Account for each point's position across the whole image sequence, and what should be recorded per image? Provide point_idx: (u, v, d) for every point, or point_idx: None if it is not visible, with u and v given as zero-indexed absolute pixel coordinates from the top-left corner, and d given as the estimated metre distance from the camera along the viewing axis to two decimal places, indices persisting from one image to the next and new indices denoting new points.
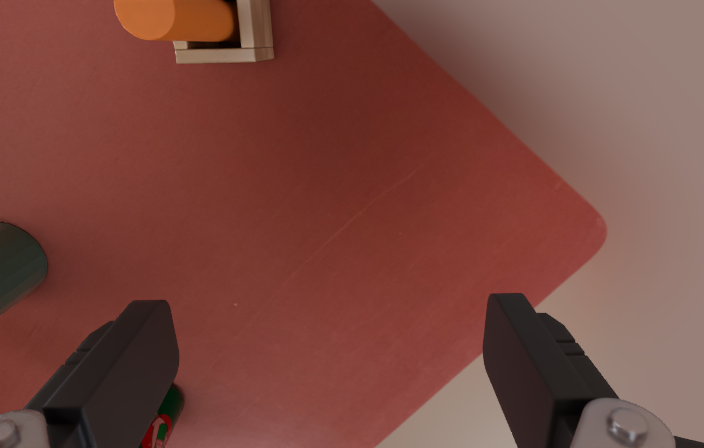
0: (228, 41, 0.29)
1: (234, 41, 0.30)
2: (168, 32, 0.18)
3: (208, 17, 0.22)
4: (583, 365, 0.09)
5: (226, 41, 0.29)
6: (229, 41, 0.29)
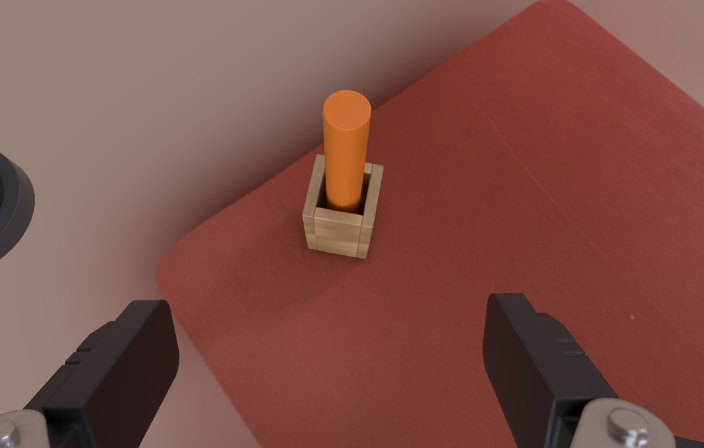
0: None
1: None
2: (367, 101, 0.22)
3: None
4: (583, 365, 0.09)
5: (359, 206, 0.33)
6: None
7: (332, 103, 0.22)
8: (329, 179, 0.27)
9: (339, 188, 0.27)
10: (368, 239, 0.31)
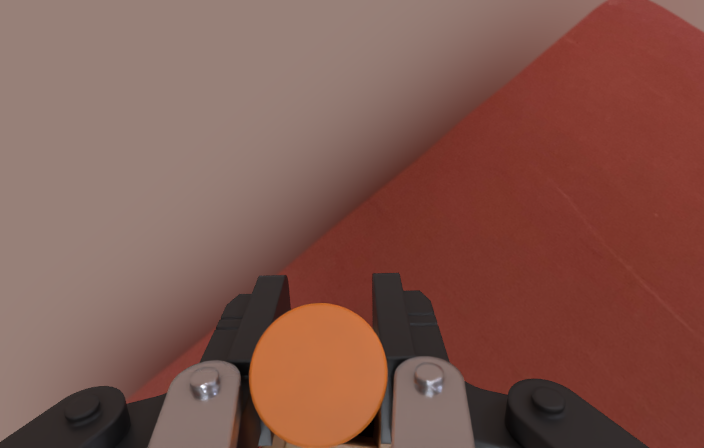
0: None
1: None
2: (375, 334, 0.08)
3: None
4: (431, 333, 0.10)
5: None
6: None
7: (276, 354, 0.08)
8: None
9: None
10: None
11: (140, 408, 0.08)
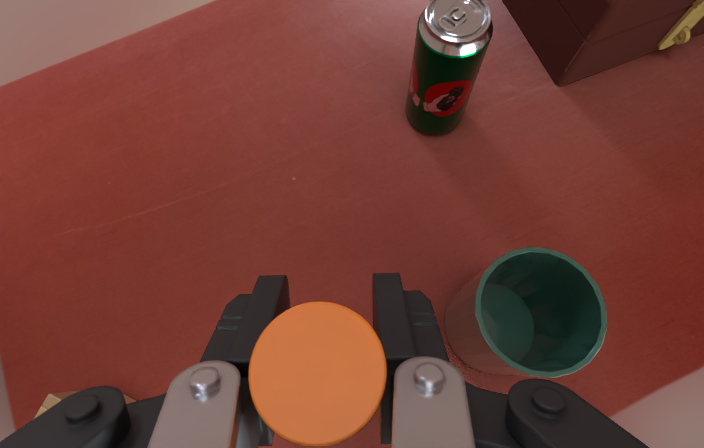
0: None
1: None
2: (374, 332, 0.08)
3: None
4: (431, 333, 0.10)
5: None
6: None
7: (275, 352, 0.08)
8: None
9: None
10: None
11: (140, 408, 0.08)
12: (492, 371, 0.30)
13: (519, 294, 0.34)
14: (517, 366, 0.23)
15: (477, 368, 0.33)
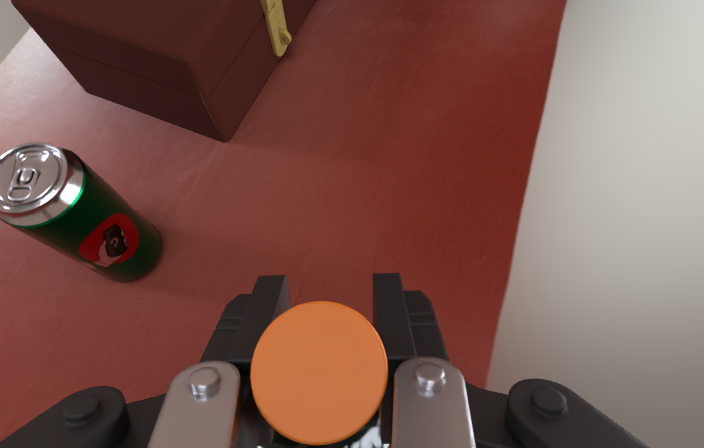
0: None
1: None
2: (375, 332, 0.08)
3: None
4: (431, 333, 0.10)
5: None
6: None
7: (277, 351, 0.08)
8: None
9: None
10: None
11: (139, 408, 0.08)
12: None
13: None
14: None
15: None
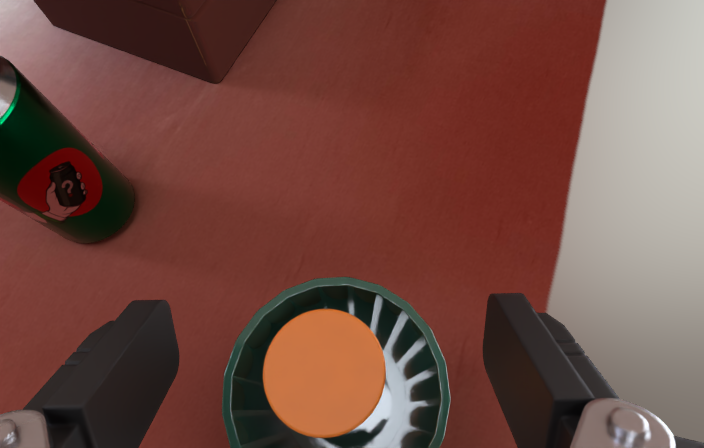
0: None
1: None
2: (375, 336, 0.09)
3: None
4: (583, 365, 0.09)
5: None
6: None
7: (286, 354, 0.09)
8: None
9: None
10: None
11: None
12: None
13: None
14: None
15: None
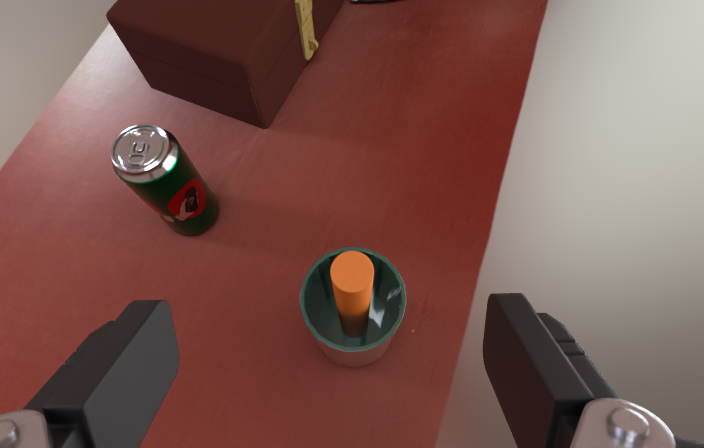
0: None
1: None
2: (370, 260, 0.25)
3: None
4: (583, 365, 0.09)
5: None
6: None
7: (338, 266, 0.24)
8: (339, 309, 0.30)
9: (350, 316, 0.30)
10: None
11: None
12: (373, 357, 0.35)
13: None
14: (368, 346, 0.28)
15: (368, 363, 0.37)
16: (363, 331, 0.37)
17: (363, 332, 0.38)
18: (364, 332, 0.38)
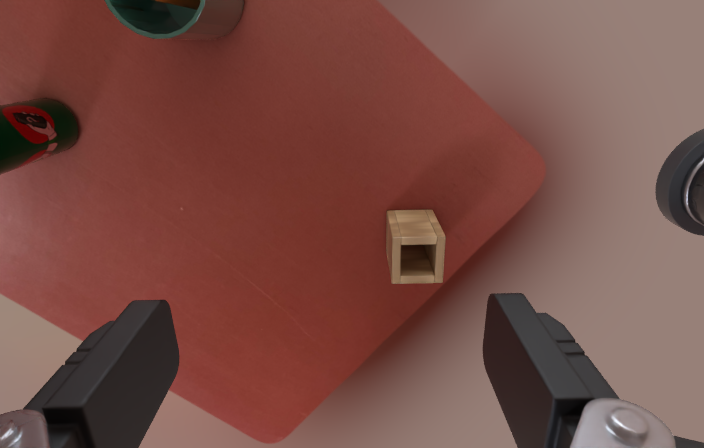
0: None
1: None
2: None
3: None
4: (583, 365, 0.09)
5: None
6: None
7: None
8: None
9: None
10: (391, 227, 0.42)
11: None
12: None
13: None
14: None
15: None
16: None
17: None
18: None
